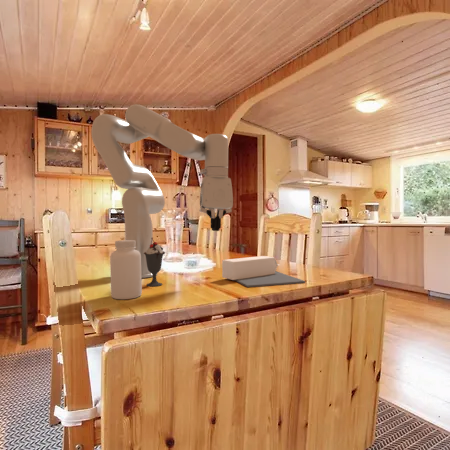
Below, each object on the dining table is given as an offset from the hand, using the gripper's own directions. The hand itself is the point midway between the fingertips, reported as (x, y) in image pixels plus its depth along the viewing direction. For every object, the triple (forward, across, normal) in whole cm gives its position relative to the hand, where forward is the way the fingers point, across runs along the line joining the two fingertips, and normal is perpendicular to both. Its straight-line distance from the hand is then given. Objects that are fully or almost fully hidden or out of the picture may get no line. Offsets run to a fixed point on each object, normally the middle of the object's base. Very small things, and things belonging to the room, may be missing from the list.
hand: (215, 230), depth 109 cm
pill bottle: (+17, -28, -10) cm, 35 cm away
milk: (+13, +4, 0) cm, 14 cm away
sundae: (+17, -19, +2) cm, 26 cm away
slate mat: (+16, +17, -2) cm, 24 cm away
